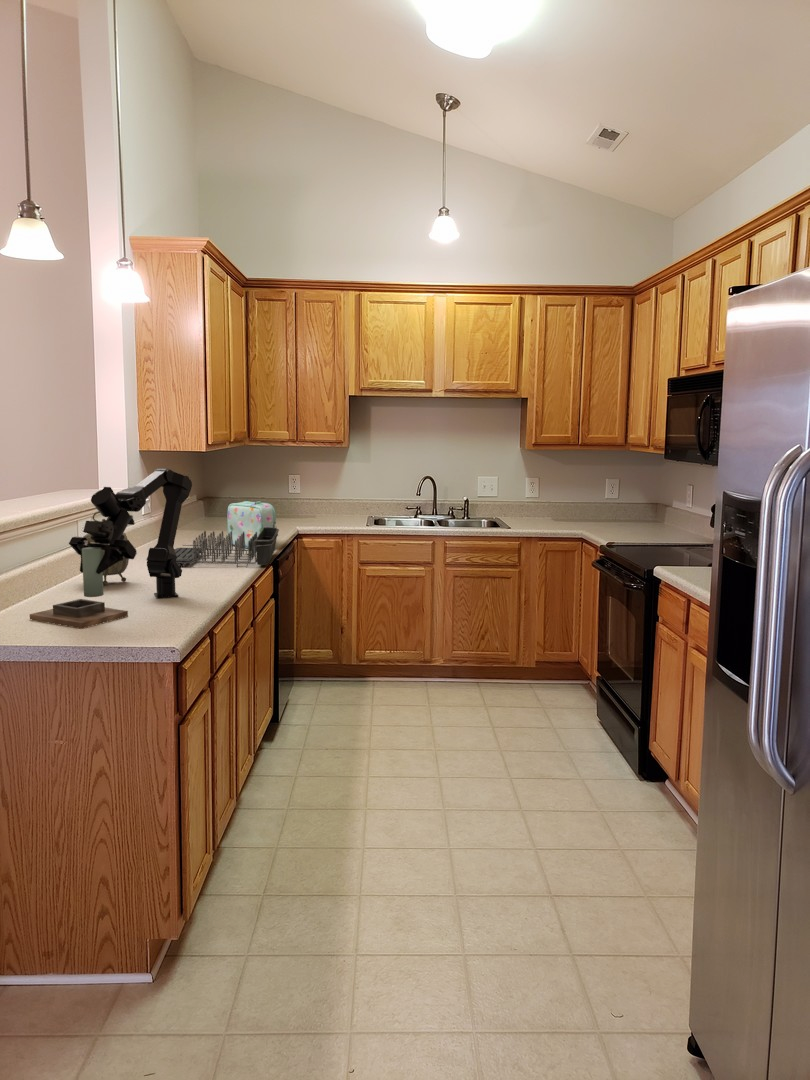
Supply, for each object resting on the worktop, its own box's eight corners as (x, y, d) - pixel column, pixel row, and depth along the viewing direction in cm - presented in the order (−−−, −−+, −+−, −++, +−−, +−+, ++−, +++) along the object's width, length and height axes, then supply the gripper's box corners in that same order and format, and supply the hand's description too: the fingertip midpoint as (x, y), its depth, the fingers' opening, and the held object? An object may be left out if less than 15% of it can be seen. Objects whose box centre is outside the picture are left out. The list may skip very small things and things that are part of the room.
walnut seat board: (77, 608, 226) (77, 594, 225) (127, 616, 217) (127, 602, 217) (29, 619, 212) (29, 605, 211) (81, 628, 203) (80, 613, 202)
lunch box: (281, 549, 344) (281, 501, 341) (263, 551, 336) (263, 503, 333) (242, 543, 360) (242, 497, 357) (225, 545, 352) (224, 498, 349)
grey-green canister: (86, 593, 214) (84, 547, 212) (105, 593, 214) (103, 547, 213) (81, 597, 209) (79, 549, 207) (101, 596, 209) (98, 549, 208)
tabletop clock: (130, 581, 267) (127, 509, 264) (126, 586, 258) (124, 512, 255) (85, 582, 264) (82, 509, 260) (80, 587, 255) (77, 512, 252)
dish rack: (273, 569, 296) (272, 538, 294) (155, 569, 292) (154, 537, 290) (280, 555, 329) (279, 527, 327) (174, 554, 325) (173, 526, 324)
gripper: (71, 508, 215) (44, 552, 206) (128, 511, 209) (103, 557, 200) (92, 532, 223) (67, 576, 214) (147, 536, 218) (123, 581, 209)
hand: (89, 572), depth 209 cm, fingers closed on grey-green canister, 5 cm apart
